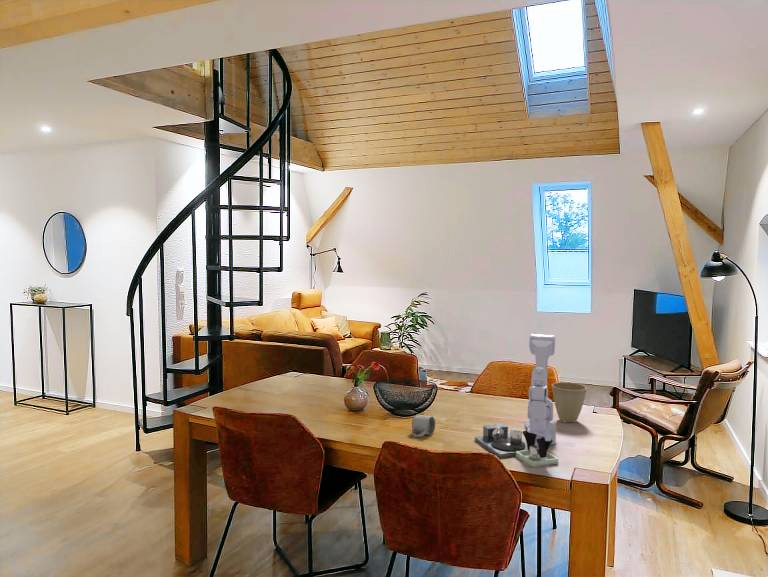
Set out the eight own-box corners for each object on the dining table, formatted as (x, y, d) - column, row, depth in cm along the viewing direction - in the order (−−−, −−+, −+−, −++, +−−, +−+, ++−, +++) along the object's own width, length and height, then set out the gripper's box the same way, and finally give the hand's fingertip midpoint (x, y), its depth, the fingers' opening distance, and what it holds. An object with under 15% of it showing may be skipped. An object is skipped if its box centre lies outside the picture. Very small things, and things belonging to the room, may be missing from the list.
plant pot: (587, 426, 251) (588, 391, 250) (552, 424, 254) (553, 389, 253) (582, 416, 266) (584, 382, 265) (549, 414, 269) (550, 381, 267)
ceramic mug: (418, 428, 247) (418, 411, 247) (435, 432, 243) (435, 414, 242) (407, 436, 238) (406, 418, 238) (424, 439, 234) (424, 421, 233)
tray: (540, 453, 219) (540, 448, 219) (558, 463, 209) (558, 458, 208) (515, 456, 216) (515, 451, 215) (532, 467, 205) (532, 462, 205)
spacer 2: (538, 456, 214) (538, 444, 214) (543, 460, 210) (544, 448, 210) (527, 457, 214) (527, 445, 213) (532, 461, 209) (533, 449, 209)
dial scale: (509, 436, 238) (509, 422, 237) (536, 453, 219) (537, 438, 219) (474, 440, 233) (475, 426, 232) (499, 458, 214) (500, 442, 213)
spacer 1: (517, 439, 227) (518, 428, 227) (524, 443, 223) (524, 432, 223) (508, 441, 226) (508, 429, 226) (514, 444, 222) (514, 433, 221)
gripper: (517, 413, 216) (516, 448, 217) (539, 424, 203) (538, 462, 204) (533, 411, 219) (532, 446, 220) (556, 422, 205) (555, 459, 206)
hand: (536, 453), depth 212 cm, fingers open, 7 cm apart
